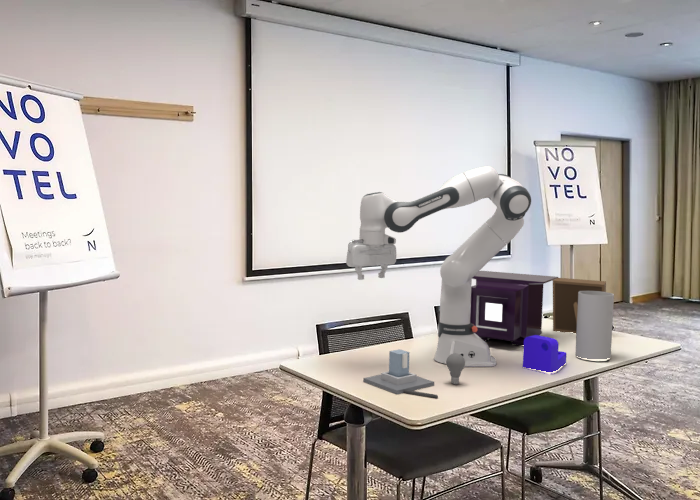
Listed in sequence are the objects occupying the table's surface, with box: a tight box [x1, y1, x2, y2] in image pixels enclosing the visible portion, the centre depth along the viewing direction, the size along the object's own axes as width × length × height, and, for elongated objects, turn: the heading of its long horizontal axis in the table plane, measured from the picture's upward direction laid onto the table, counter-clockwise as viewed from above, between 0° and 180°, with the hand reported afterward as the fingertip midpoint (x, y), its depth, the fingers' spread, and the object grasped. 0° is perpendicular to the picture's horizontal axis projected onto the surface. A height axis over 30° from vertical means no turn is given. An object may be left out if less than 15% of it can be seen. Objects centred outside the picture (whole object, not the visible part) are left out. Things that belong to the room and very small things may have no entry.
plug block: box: [388, 348, 410, 377], centre depth 198 cm, size 4×5×9 cm
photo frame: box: [552, 277, 607, 334], centre depth 276 cm, size 15×22×25 cm
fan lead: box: [403, 390, 439, 399], centre depth 187 cm, size 11×1×1 cm, turn 63°
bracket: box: [522, 335, 567, 372], centre depth 222 cm, size 18×11×12 cm, turn 131°
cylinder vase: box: [575, 291, 615, 359], centre depth 235 cm, size 12×12×25 cm
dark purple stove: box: [470, 270, 559, 346], centre depth 263 cm, size 35×35×27 cm
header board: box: [363, 370, 435, 395], centre depth 198 cm, size 16×16×3 cm
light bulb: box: [446, 353, 465, 385], centre depth 199 cm, size 6×6×10 cm
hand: (371, 278), depth 216 cm, fingers open, 8 cm apart
